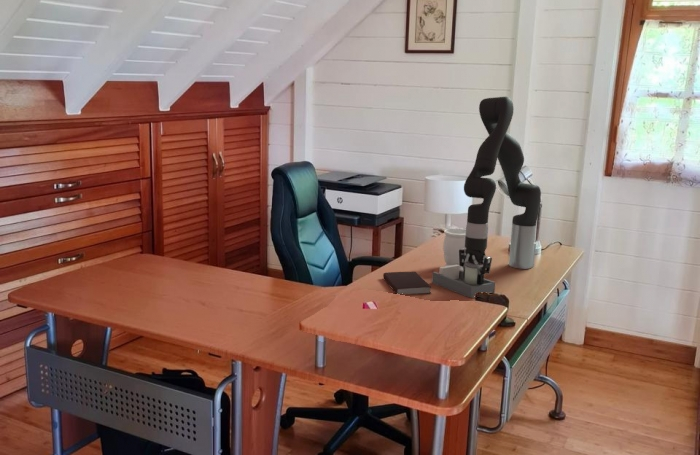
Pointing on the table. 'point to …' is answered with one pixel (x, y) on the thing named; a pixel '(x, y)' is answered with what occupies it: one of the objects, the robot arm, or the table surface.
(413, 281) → the book
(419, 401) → the table surface
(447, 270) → the block
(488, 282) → the grey tray
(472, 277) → the small jar
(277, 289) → the table surface
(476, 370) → the table surface
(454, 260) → the jar
